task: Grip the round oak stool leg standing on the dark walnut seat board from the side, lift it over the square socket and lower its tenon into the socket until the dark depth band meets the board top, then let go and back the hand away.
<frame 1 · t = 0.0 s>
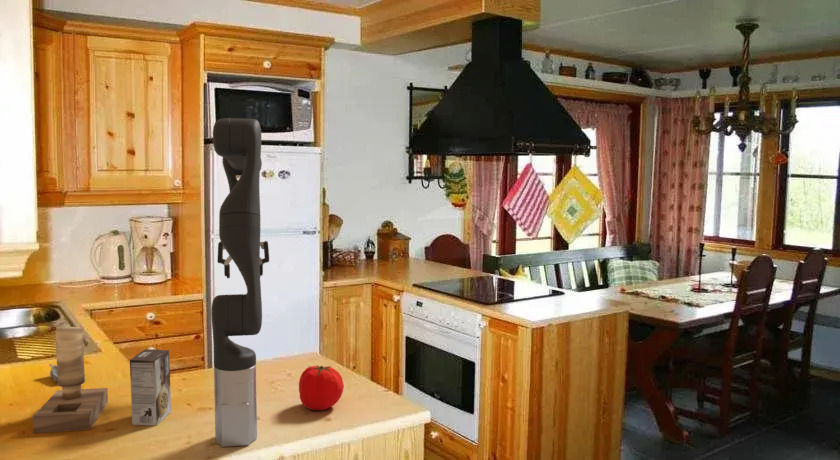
hand: (243, 277, 200), 29 cm above the worktop, tool pointing down, fingers open, 8 cm apart
stool leg: (72, 396, 174), point 4 cm above the worktop, touching seat board
seat board: (73, 417, 171), on the worktop
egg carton: (67, 379, 201), on the worktop
coffee box: (151, 419, 171), on the worktop
tomato: (320, 407, 180), on the worktop
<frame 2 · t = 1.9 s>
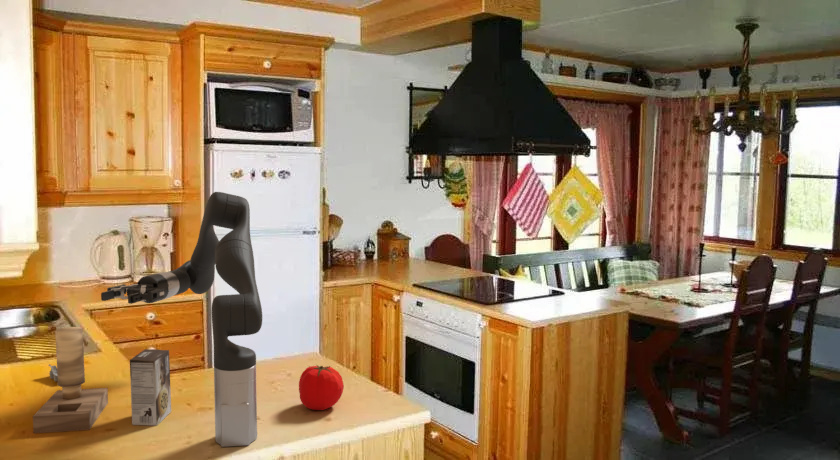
hand: (115, 298, 179), 28 cm above the worktop, tool horizontal, fingers open, 8 cm apart
nothing on the worktop moved.
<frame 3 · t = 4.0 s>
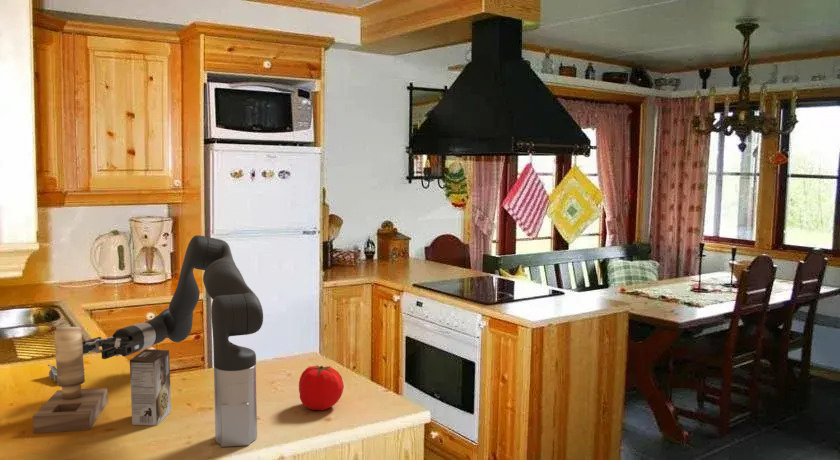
hand: (89, 353, 179), 13 cm above the worktop, tool horizontal, fingers open, 8 cm apart
nothing on the worktop moved.
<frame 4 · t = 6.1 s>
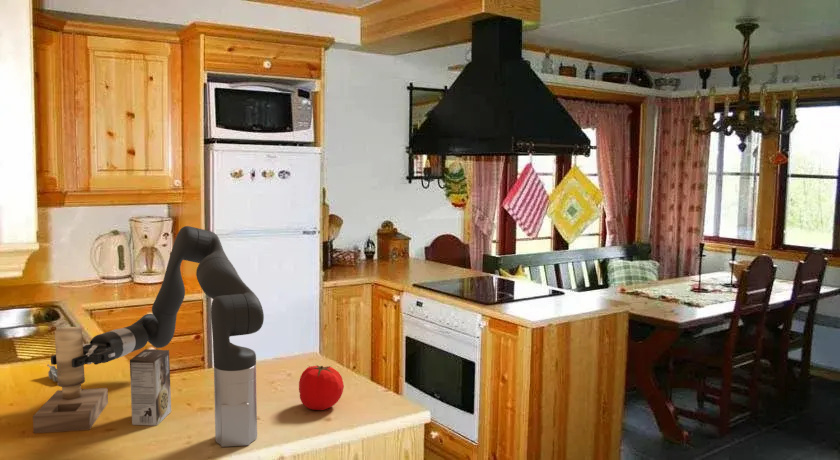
hand: (62, 362, 171), 14 cm above the worktop, tool horizontal, fingers closed on stool leg, 6 cm apart
stool leg: (72, 396, 174), point 4 cm above the worktop, touching gripper, seat board
everything else where it was.
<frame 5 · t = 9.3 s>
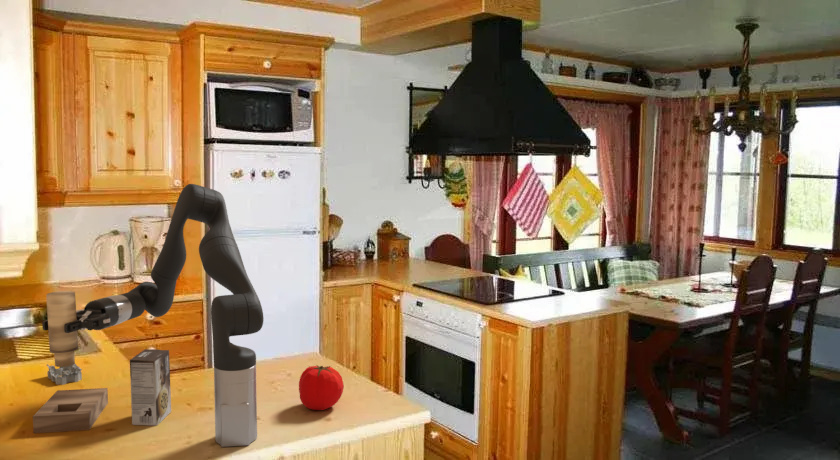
hand: (54, 327, 162), 24 cm above the worktop, tool horizontal, fingers closed on stool leg, 6 cm apart
stool leg: (65, 364, 166), point 15 cm above the worktop, touching gripper
everything else where it was.
when the fingers open (11 cm above the worktop, at t = 12.7 s): stool leg stays where it is, resting on seat board.
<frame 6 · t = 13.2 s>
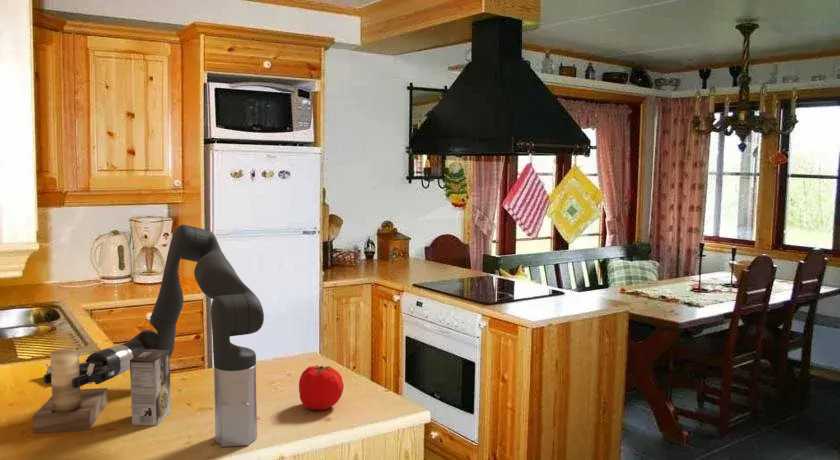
hand: (59, 381, 164), 11 cm above the worktop, tool horizontal, fingers open, 8 cm apart
stool leg: (67, 422, 167), resting on seat board
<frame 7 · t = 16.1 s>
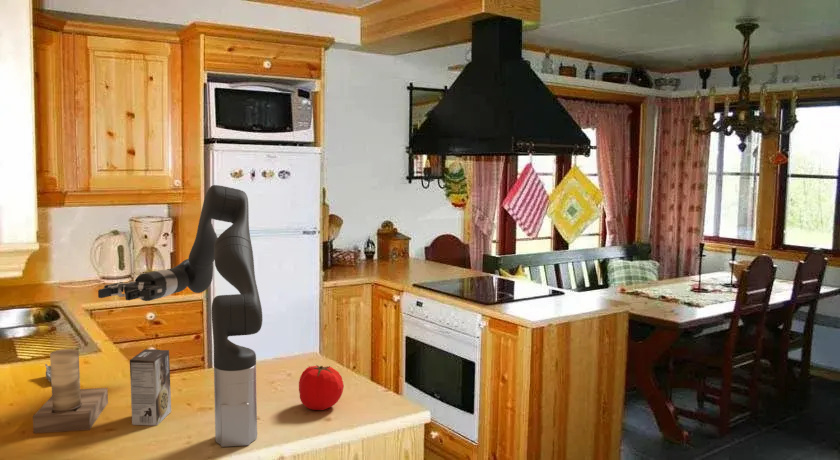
hand: (112, 295, 176), 29 cm above the worktop, tool horizontal, fingers open, 8 cm apart
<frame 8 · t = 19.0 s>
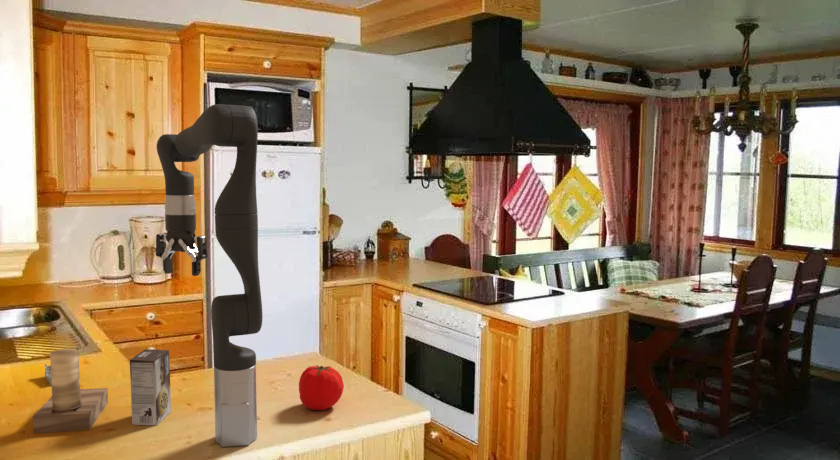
hand: (182, 274, 182), 33 cm above the worktop, tool pointing down, fingers open, 8 cm apart
at the end: stool leg 0.1 cm from the target spot on the seat board, point 0.5 cm above the seat board's base; stool leg tilted 0°; the gripper is holding nothing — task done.
